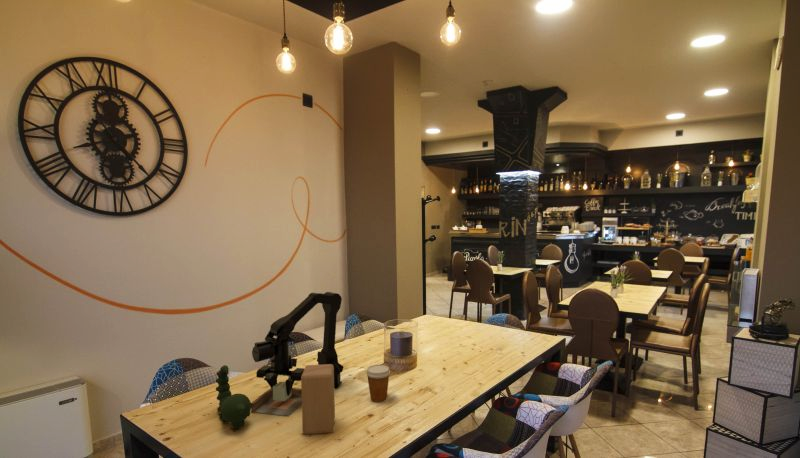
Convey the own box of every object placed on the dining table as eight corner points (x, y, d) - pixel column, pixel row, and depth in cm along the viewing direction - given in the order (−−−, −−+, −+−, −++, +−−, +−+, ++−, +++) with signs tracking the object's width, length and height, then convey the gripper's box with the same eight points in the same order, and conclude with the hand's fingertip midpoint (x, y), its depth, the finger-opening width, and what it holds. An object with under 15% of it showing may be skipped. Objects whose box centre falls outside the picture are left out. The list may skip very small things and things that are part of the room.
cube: (284, 401, 150) (284, 387, 150) (273, 399, 151) (272, 386, 151) (291, 395, 155) (291, 382, 154) (280, 394, 156) (279, 381, 156)
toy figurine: (210, 417, 147) (229, 440, 128) (207, 366, 148) (226, 380, 129) (236, 409, 153) (259, 429, 134) (233, 359, 154) (255, 372, 135)
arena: (307, 397, 158) (307, 389, 158) (288, 416, 143) (288, 407, 143) (273, 394, 162) (273, 385, 162) (251, 412, 147) (250, 403, 147)
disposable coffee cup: (372, 406, 150) (371, 375, 149) (362, 396, 158) (362, 366, 158) (395, 400, 154) (394, 370, 154) (384, 391, 163) (383, 362, 162)
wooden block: (306, 420, 141) (305, 364, 140) (335, 418, 142) (333, 362, 141) (302, 435, 131) (300, 375, 130) (332, 433, 132) (331, 374, 131)
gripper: (313, 349, 158) (314, 388, 158) (271, 346, 162) (272, 384, 163) (299, 359, 147) (300, 400, 148) (254, 356, 151) (256, 396, 152)
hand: (282, 394), depth 153 cm, fingers closed on cube, 5 cm apart
